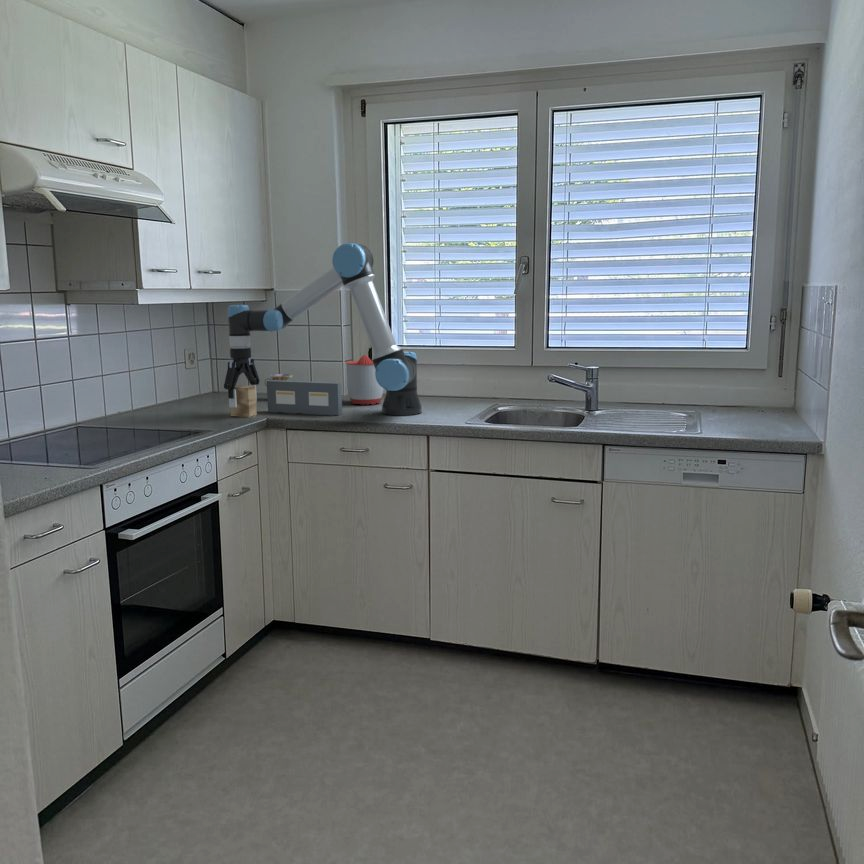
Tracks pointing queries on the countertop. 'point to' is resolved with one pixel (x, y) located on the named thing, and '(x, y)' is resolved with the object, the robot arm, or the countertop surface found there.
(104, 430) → the countertop surface
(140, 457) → the countertop surface
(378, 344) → the robot arm
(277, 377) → the mug
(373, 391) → the citrus juicer
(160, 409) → the countertop surface
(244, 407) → the oak block
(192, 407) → the countertop surface
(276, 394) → the panel
